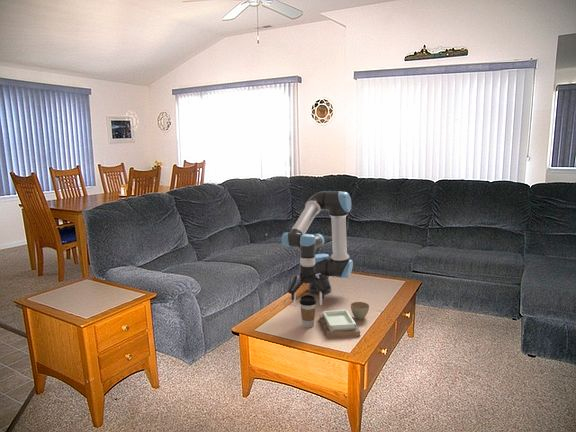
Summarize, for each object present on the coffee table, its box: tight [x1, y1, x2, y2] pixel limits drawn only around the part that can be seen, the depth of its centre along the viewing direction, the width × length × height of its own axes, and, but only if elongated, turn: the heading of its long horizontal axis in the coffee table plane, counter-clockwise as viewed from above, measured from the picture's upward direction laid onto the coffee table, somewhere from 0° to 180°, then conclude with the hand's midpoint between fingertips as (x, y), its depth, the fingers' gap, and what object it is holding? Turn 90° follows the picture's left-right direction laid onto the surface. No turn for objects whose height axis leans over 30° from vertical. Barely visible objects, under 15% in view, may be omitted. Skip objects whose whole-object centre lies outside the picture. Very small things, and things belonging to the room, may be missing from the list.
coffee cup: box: [299, 294, 317, 329], centre depth 218 cm, size 8×8×15 cm
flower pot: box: [350, 301, 370, 320], centre depth 227 cm, size 10×10×7 cm
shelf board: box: [318, 314, 361, 339], centre depth 216 cm, size 22×16×2 cm
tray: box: [322, 309, 357, 331], centre depth 216 cm, size 18×13×3 cm
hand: (307, 305), depth 217 cm, fingers open, 13 cm apart
